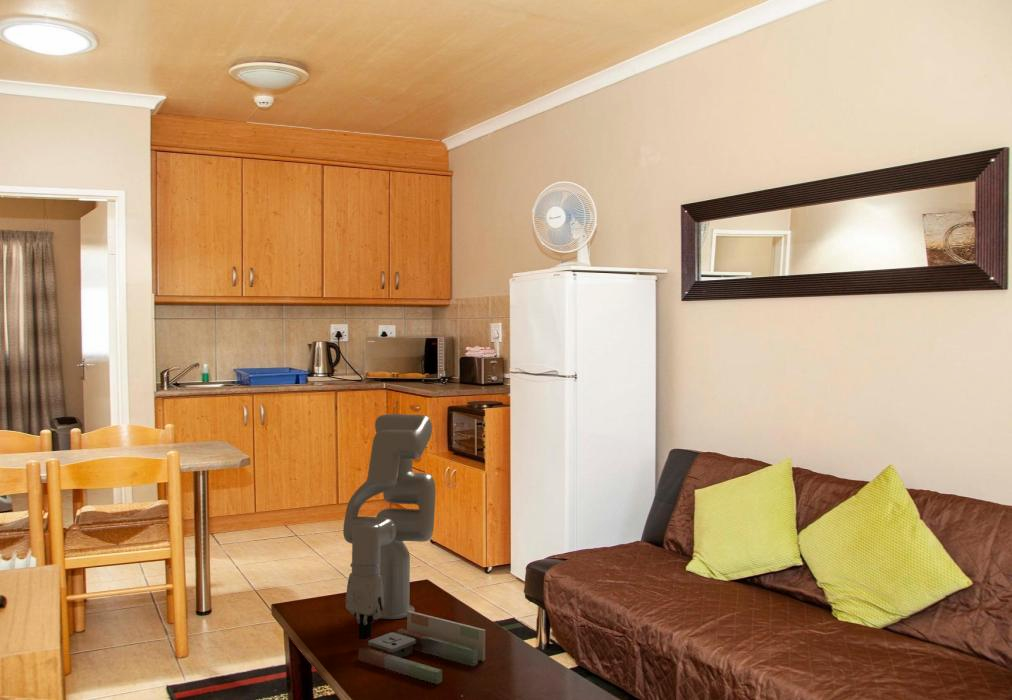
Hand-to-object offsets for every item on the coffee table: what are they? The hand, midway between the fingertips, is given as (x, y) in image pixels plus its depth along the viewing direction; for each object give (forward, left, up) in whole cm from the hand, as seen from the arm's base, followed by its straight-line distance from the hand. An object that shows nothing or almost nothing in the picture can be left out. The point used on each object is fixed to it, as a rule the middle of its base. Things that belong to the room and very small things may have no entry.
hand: (364, 637), depth 232 cm
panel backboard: (+18, +12, -3) cm, 22 cm away
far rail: (+18, +8, -3) cm, 20 cm away
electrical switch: (+13, 0, -2) cm, 13 cm away
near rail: (+18, -7, -3) cm, 20 cm away
